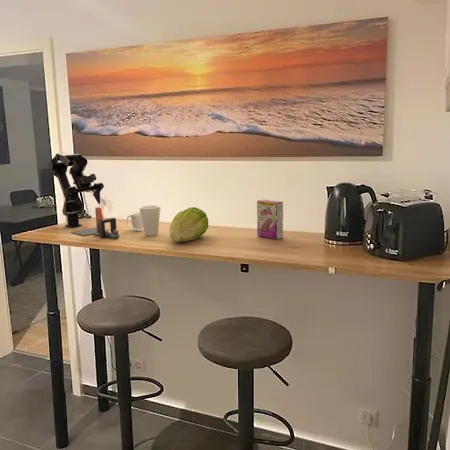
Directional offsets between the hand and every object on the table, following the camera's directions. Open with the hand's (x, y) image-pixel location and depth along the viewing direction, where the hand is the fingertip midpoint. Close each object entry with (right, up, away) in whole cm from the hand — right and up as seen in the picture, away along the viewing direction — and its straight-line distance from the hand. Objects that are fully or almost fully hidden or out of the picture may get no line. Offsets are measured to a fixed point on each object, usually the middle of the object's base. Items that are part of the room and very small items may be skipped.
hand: (91, 205), depth 232 cm
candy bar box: (+84, -15, -16) cm, 87 cm away
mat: (-2, -13, +4) cm, 14 cm away
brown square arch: (+10, -15, -7) cm, 19 cm away
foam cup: (+29, -14, -4) cm, 33 cm away
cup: (+20, -12, +6) cm, 24 cm away
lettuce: (+47, -16, -17) cm, 53 cm away
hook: (+9, -15, -7) cm, 19 cm away
